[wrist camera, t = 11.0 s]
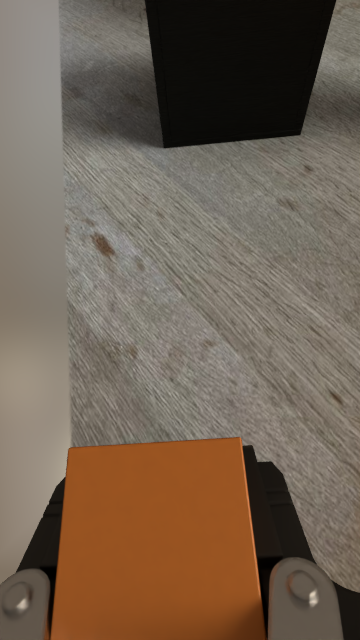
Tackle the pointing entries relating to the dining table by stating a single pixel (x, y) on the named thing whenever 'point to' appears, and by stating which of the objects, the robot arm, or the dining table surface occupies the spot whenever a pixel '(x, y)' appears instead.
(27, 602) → the robot arm
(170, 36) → the bin
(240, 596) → the block
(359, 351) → the dining table surface
